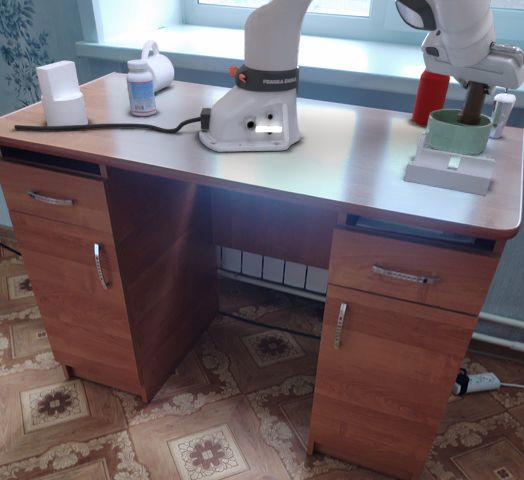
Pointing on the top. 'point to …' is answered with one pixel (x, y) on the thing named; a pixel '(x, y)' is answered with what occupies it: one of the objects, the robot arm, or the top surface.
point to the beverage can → (429, 96)
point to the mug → (158, 66)
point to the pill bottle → (140, 88)
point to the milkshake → (501, 112)
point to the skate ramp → (437, 173)
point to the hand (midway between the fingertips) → (478, 89)
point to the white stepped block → (61, 94)
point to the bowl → (457, 132)
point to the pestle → (473, 104)
